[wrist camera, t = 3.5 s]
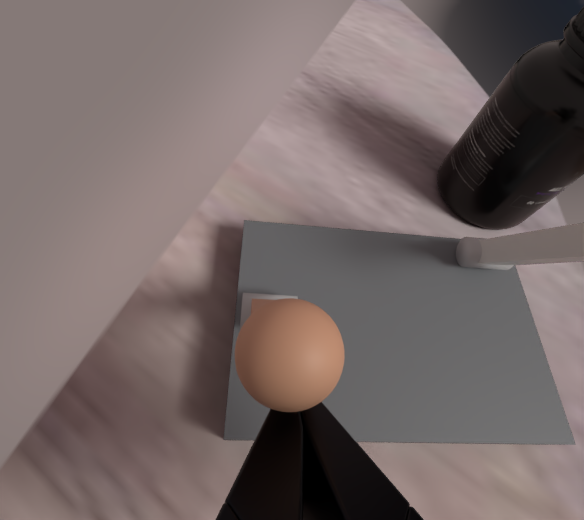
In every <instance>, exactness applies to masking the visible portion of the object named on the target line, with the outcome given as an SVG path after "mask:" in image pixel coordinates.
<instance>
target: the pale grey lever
mask: <svg viewBox="0 0 584 520" xmlns="http://www.w3.org/2000/svg"><path fill="white" fill-rule="evenodd" d="M456 259H457V262H458V264H459V265H460V266H462V267H471V268H484V269H497V270H509V269H511V268H512V267H513V266H514V265H526V264H545V263H565V262H584V223H579V224H573V225H567V226H561V227H555V228H549V229H543V230H537V231H531V232H525V233H519V234H513V235H507V236H501V237H495V238H490V239H484V238H472V237H464V238H462V239H461V240H460V242H459V243H458V245H457V249H456Z"/></svg>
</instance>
